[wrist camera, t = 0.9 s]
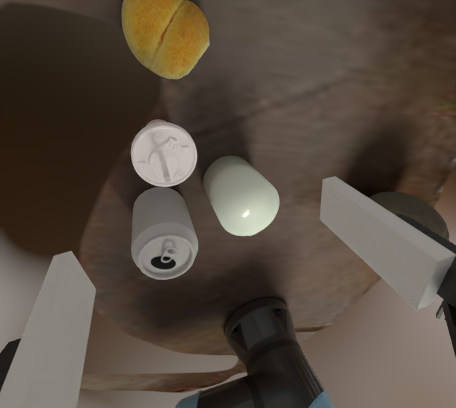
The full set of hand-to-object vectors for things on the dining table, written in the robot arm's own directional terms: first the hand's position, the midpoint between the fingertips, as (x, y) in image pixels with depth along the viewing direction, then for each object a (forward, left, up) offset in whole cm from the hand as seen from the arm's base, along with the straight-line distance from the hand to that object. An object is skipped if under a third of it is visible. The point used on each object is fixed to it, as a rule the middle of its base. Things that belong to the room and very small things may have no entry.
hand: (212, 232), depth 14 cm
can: (-10, +5, -24) cm, 26 cm away
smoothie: (0, +1, -24) cm, 24 cm away
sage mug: (-10, -6, -24) cm, 26 cm away
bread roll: (+10, -4, -24) cm, 26 cm away
